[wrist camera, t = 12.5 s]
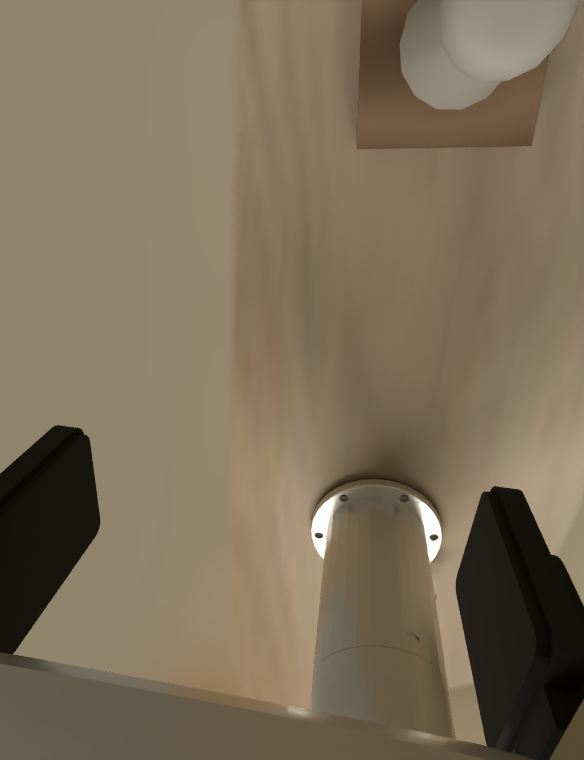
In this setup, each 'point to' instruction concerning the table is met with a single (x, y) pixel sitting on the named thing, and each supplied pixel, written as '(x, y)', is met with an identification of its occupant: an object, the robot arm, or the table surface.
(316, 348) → the table surface
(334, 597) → the robot arm
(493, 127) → the block
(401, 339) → the table surface
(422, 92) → the salt shaker
